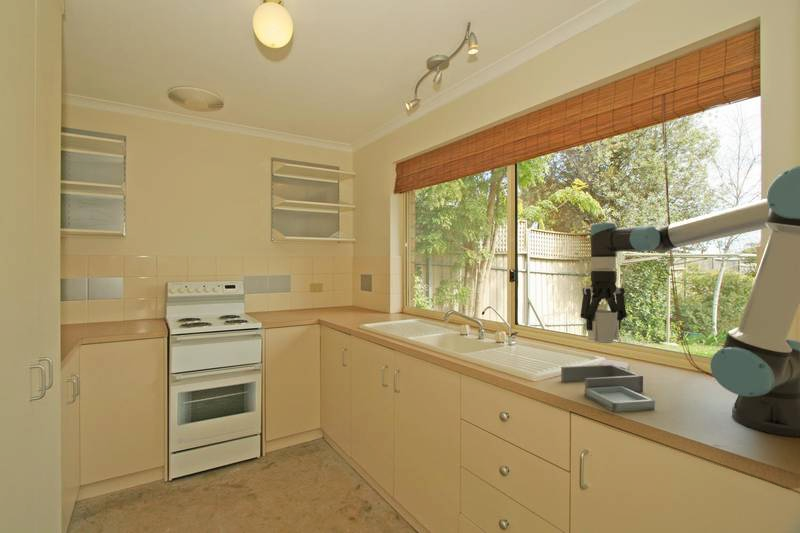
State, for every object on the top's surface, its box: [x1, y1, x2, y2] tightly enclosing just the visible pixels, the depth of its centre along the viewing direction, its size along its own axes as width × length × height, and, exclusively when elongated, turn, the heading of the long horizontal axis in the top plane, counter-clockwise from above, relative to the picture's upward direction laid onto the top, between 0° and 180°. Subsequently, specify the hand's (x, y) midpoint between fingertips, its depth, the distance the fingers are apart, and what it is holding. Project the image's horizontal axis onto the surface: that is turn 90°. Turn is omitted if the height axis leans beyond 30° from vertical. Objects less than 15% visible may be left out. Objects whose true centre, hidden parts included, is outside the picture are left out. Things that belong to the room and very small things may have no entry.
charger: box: [598, 359, 631, 371], centre depth 147 cm, size 5×9×15 cm
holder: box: [560, 364, 644, 393], centre depth 133 cm, size 14×20×5 cm
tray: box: [584, 386, 656, 413], centre depth 117 cm, size 13×13×2 cm
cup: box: [593, 309, 618, 344], centre depth 128 cm, size 8×8×10 cm
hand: (603, 339), depth 128 cm, fingers closed on cup, 8 cm apart
